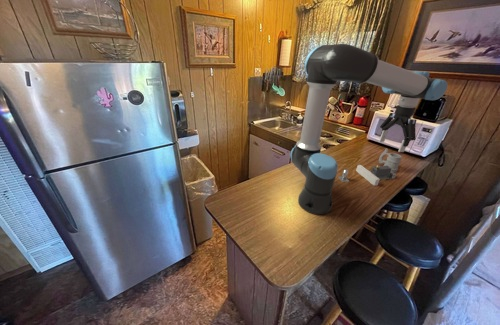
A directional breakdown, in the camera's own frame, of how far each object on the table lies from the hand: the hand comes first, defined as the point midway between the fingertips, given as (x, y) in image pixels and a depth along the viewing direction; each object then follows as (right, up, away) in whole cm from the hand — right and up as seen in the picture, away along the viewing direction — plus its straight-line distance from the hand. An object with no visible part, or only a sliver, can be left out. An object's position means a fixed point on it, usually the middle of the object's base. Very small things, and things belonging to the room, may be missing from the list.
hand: (390, 146), depth 105 cm
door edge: (-9, -17, +8) cm, 21 cm away
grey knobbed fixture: (-22, -18, +6) cm, 29 cm away
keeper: (0, -17, +9) cm, 19 cm away
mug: (+10, -12, +19) cm, 25 cm away
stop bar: (-1, -17, +9) cm, 19 cm away
